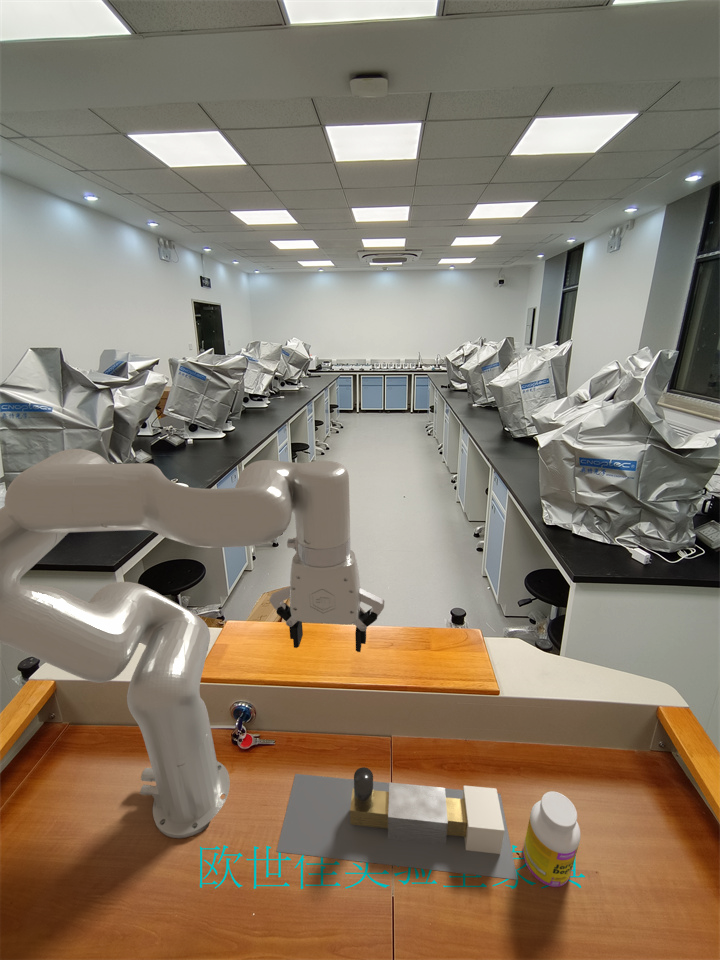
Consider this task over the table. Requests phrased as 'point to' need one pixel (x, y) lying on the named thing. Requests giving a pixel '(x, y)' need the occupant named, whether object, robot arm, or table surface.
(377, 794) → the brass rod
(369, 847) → the base board
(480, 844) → the cream rectangular block
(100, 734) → the table surface
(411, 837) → the sleeve
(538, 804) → the supplement bottle
